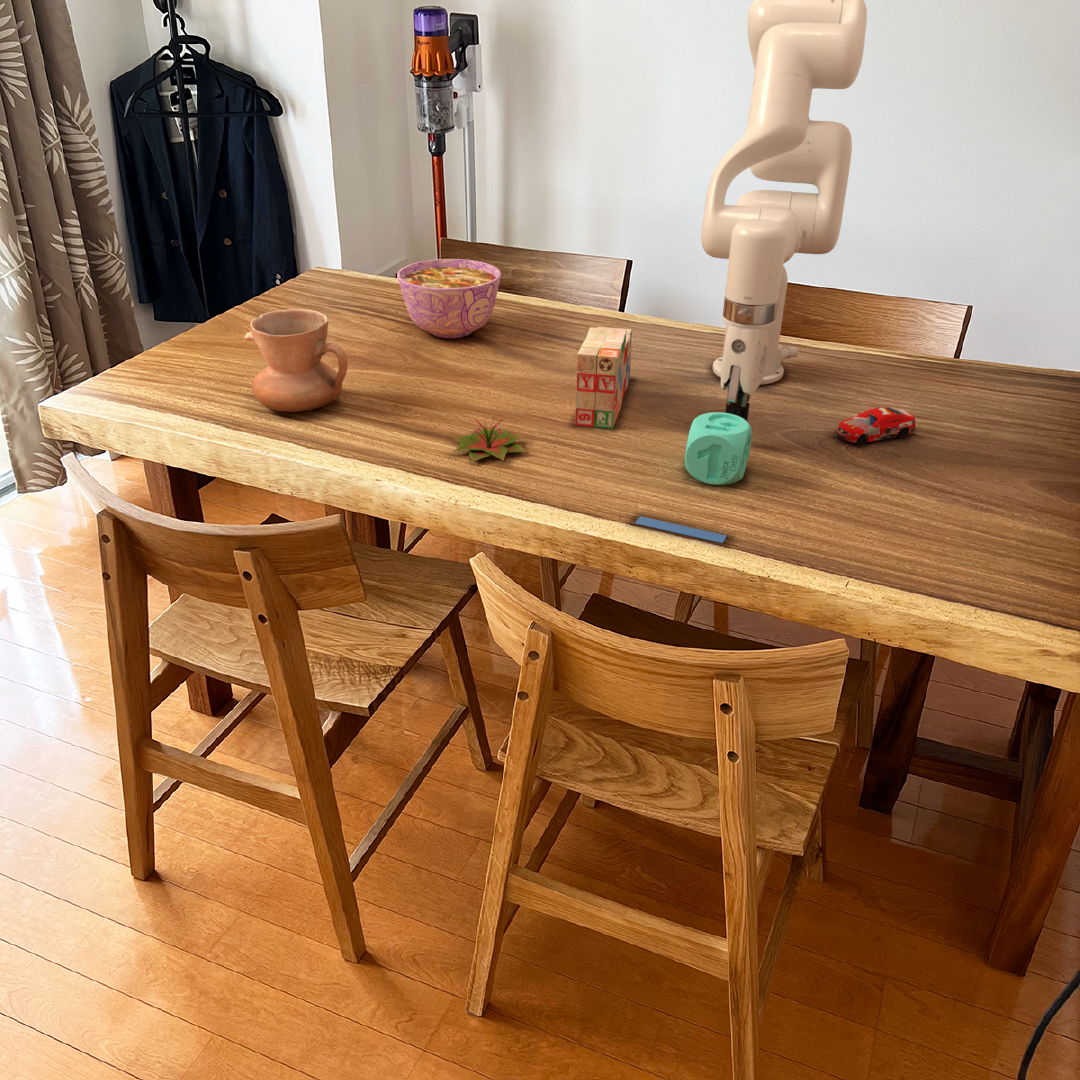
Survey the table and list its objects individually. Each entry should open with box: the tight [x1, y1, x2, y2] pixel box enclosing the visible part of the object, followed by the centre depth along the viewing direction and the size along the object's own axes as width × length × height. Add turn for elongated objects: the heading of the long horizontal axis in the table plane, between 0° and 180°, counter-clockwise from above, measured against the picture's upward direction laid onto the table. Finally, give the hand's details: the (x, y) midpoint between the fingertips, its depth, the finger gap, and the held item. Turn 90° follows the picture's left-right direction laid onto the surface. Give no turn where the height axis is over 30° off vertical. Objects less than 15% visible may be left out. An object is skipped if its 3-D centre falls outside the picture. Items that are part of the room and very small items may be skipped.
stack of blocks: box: [574, 326, 633, 429], centre depth 162 cm, size 21×6×12 cm, turn 168°
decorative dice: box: [684, 411, 753, 486], centre depth 142 cm, size 8×8×8 cm
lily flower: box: [451, 415, 528, 463], centre depth 149 cm, size 12×12×5 cm
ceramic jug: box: [244, 308, 349, 413], centre depth 160 cm, size 18×14×14 cm
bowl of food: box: [396, 258, 502, 339], centre depth 191 cm, size 20×20×12 cm
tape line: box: [634, 516, 727, 544], centre depth 130 cm, size 12×2×1 cm, turn 66°
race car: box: [836, 406, 916, 446], centre depth 154 cm, size 13×5×4 cm, turn 110°
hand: (735, 426), depth 150 cm, fingers closed
